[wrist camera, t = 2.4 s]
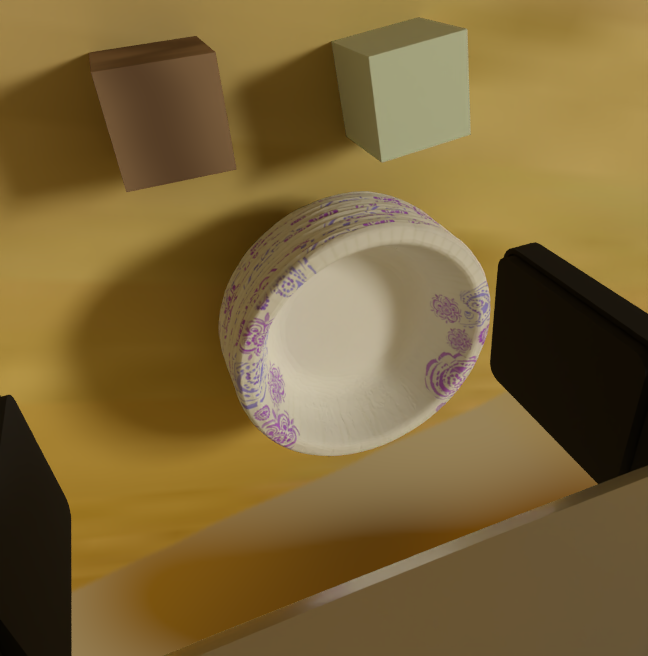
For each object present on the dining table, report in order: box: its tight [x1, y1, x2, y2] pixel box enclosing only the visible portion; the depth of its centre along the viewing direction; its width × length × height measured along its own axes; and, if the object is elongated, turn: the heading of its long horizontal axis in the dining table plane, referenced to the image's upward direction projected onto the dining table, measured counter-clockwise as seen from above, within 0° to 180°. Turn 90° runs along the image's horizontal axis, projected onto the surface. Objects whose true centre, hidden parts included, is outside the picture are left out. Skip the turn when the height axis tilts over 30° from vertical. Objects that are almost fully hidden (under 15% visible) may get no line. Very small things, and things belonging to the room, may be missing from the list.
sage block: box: [331, 17, 471, 162], centre depth 31 cm, size 5×5×5 cm
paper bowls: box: [219, 191, 490, 456], centre depth 36 cm, size 15×15×8 cm
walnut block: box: [89, 36, 236, 192], centre depth 27 cm, size 5×5×5 cm
